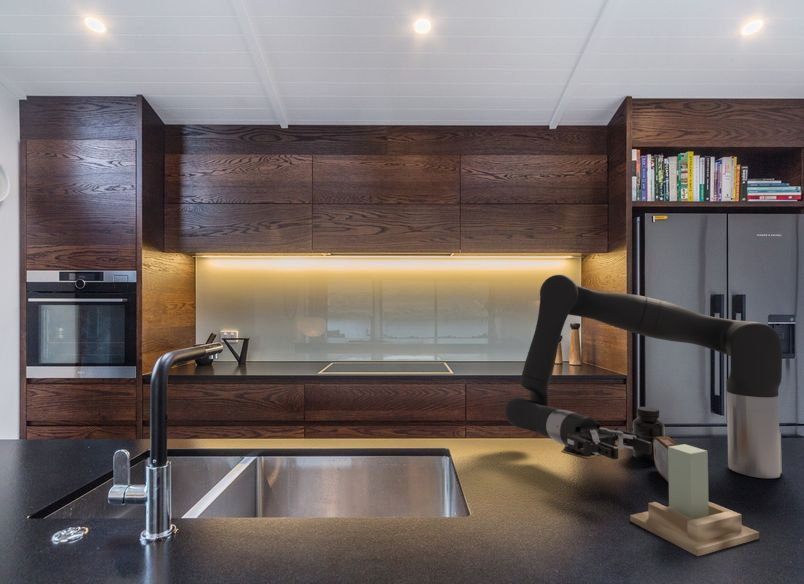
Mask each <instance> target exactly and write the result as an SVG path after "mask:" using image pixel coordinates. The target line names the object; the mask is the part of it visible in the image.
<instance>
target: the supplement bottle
mask: <svg viewBox="0 0 804 584" xmlns="http://www.w3.org/2000/svg"><path fill="white" fill-rule="evenodd" d="M636 416H637V417H636V418H635V419H634V420H633V421H632V432H634V433H638V434H640V439H641V440H645V441H648V442H650V443H651V444H652V453H651V454H646V453H643V452H640V451H637V450H634V449H632V451H633V456H634V458H635V459H636V460H639V461H641V462H643V463H644V462H645V463H648V464H649V463H650V464H655V462H654V451H653V439H654V438H655V437H665V436H666V435H665V434H666V430H665V424H664V423H663V421H661V420H660V418H661V415H660V409H658V408H656V407H650V406H638V407H637V408H636Z"/></svg>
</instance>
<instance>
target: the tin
mask: <svg viewBox="0 0 804 584" xmlns="http://www.w3.org/2000/svg"><path fill="white" fill-rule="evenodd" d="M676 445H679V443H677V442H676V441H675V440H674V439H673V438H671V437H670V436H668V435H665V437H655V438H654V439H653V451H654V462H655V463H654V465H655V467H656V471H657V472H658V474H659V475H660V476H661V477H662V478H663V480H665V481H666V482H667V484H669V473H668V447H670V446H676Z"/></svg>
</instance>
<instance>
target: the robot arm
mask: <svg viewBox="0 0 804 584" xmlns="http://www.w3.org/2000/svg"><path fill="white" fill-rule="evenodd" d="M568 315H569V316H575V317H581V318H585V319H591V320H594V321H597V322H601V323H603V324H606V325H609V326H612V327H614V328H617V329H620V330H623V331H626V332H629V333H633V334H637V335H641V336H645V337H648V338H653V339H657V340H663V341H667V342H668V341H670V342H677V343H685V344H691V345H692V344H693V345H696V346H701V347H704V348H707V349H709V350H713V351H716V352H718V353H721V354H723V355H727V356H729V357H730V371H729V376H728V378H727V380H726V412H727V413H726V417H727V419H726V420H727V422H726V423H727V462H728V463H727V465H728V466H727V467H728V469H729V470H731V471H733V472H735V473H737V474H741V475H744V476H748V477H753V478H759V479H777V478H780V477H781V474H782V472H783V471H782V470H783V468H782V462H783V461H782V433H781V432H782V431H781V429H780V411H779V410H780V409H779V407H780V406H779V389H780V388H779V387H780V386H781V384H782V380H783V379H782V378H783V375H782V374H783V345H782V339H781V337H780V335H779V333H778V332H777V330H775V329H774V328H773V327H772V326H770V325H768V324H766V323H763V322H758V321H750V320H737V319H735V320H734V319H729V318H722V317H716V316H714V317H713V316H710V315H705V314H702V313H699V312H696V311H694V310H691V309H689V308H686V307H684V306H680V305H677V304H674V303H672V302H669V301H664V300H661V299H657V298H653V297H648V296H643V295H639V294H631V293H617V292H604V291H598V290H595V289H591V288H587V287H584V286H580V285H578V284H577V283H576V282H575V281H574V280H573V279H572V278H570V277H569V276H568V275H565V274H554V275H552V276H549V277H548V278H547V279H545V280H544V281H543V283H542V284H541V286H540V289H539V308H538V316H537V320H536V321H537V322H536V325H535V329H534V332H533V333H534V334H533V337H532V340H531V343H530V346H529V348H528V352H527V355H526V358H525V362H524V365H523V369H522V373H521V376H520V381H519V382H520V386H521V387H522V388H523V389H525V390H527V391H529V399H526V398H524V397H523V398H522V397H513V398H511V399H510V400H509V401H508V402H507V403H506V405H505V407H504V416H505V418H506V420H507V422H508V423H509V424H511V425H512V426H514V427H516V428H520V429H522V430H523V429H524V430H527V431H530V432H535V433H537V434H540V435H542V436H544V437H546V438H548V439H551V440H553V441H555V442H557V443H558V444H560V445H562V446H564V447H565V446H567V447H569V448H572V449H574V450H576V451H578V452H581V453H583V454H585V455H590V452H592V453H594V454H595V455H598V456H600V455H601V456H604V457H606V458H609V459H610V460H618V459H619V450H620V451H622V450H623V449H631V450H633V449H634V450H637V451H640V452H643V453H646V454H651V453H652V444H651V443H650V442H648V441H645V440H641V439H640V434H638V433H634V432H633V431H630V430H626V429H622V428H619V427H614V428H613V429H609V428H608V427H607V428H606V427H601V426H600V424H599V423H598V422H597V420H596V419H594V418H593V417H591V416H588V415H584V414H580V413H578V412H575V411H570V410H567V409H561V408H557V407H554V406H550V405H549V386H550V382H551V379H552V376H553V373H554V372H553V371H554V368H555V365H556V364H555V363H556V359H557V354H558V349H559V344H560V339H561V335H562V332H563V329H564V325H565V323H566V320H567V318H568ZM616 442H617V443H618V444H616Z"/></svg>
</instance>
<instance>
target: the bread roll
mask: <svg viewBox="0 0 804 584" xmlns="http://www.w3.org/2000/svg"><path fill="white" fill-rule="evenodd" d="M561 453H564V454H567V455H571V456H574V457H579V458H582V459H586V460H589V459H592V458H595V457H598V456H599V455H595V454H594V453H592V452H590V455H585V454H583V453H581V452H578V451H576V450H574V449H572V448H569V447H567V446H565V445H564V447H563V449H562V450H561Z"/></svg>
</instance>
